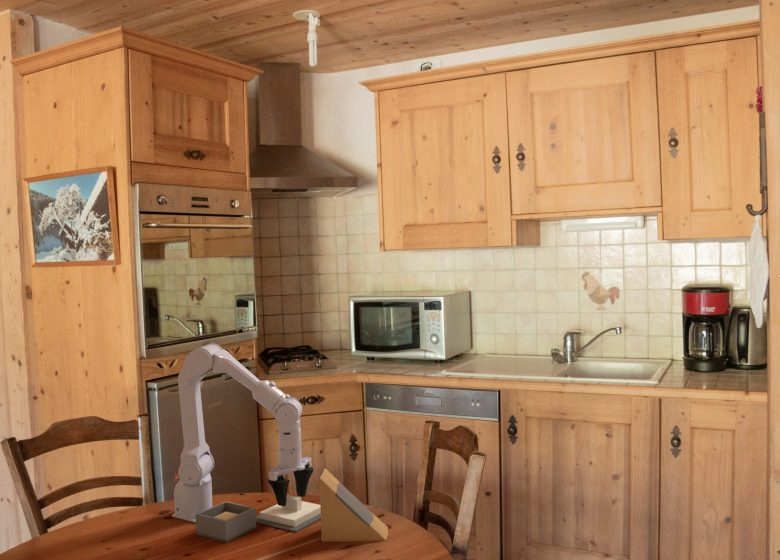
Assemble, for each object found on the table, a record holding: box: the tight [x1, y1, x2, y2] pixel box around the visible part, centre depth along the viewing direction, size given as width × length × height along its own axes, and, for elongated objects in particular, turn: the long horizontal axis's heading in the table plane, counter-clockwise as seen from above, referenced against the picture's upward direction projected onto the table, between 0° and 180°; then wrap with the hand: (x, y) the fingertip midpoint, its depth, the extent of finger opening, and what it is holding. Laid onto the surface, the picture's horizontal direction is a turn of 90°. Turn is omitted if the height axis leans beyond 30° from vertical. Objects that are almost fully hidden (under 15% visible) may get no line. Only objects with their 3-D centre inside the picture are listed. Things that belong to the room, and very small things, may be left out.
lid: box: [259, 494, 321, 527], centre depth 178 cm, size 11×11×5 cm
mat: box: [256, 513, 321, 533], centre depth 178 cm, size 15×15×1 cm
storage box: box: [195, 500, 257, 543], centre depth 170 cm, size 10×10×5 cm
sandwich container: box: [319, 468, 389, 542], centre depth 166 cm, size 9×15×15 cm, turn 88°
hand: (291, 500), depth 178 cm, fingers open, 7 cm apart
